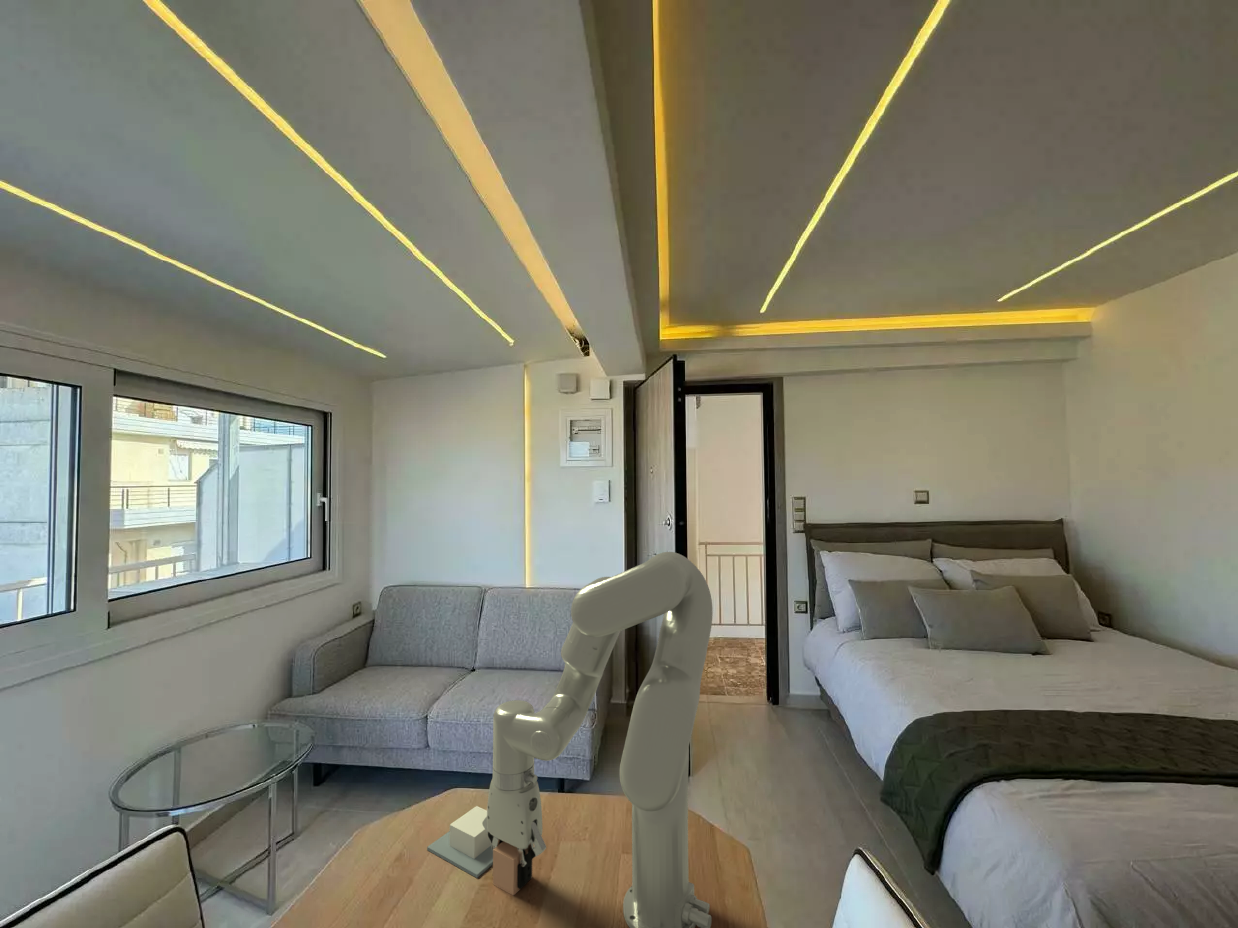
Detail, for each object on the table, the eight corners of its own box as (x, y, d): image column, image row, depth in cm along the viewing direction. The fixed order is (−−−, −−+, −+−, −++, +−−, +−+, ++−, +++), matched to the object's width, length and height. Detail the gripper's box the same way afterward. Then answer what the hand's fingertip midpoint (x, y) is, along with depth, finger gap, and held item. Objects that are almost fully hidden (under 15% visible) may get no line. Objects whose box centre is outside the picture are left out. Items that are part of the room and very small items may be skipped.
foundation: (521, 839, 102) (522, 815, 102) (477, 877, 91) (477, 851, 92) (473, 816, 109) (474, 794, 109) (427, 849, 99) (427, 825, 99)
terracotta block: (532, 876, 92) (532, 842, 92) (513, 895, 87) (513, 859, 88) (512, 866, 94) (512, 833, 95) (492, 884, 90) (493, 849, 90)
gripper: (562, 777, 91) (562, 881, 90) (495, 752, 100) (494, 847, 99) (535, 798, 84) (534, 911, 83) (465, 770, 93) (464, 872, 92)
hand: (512, 875), depth 91 cm, fingers closed on terracotta block, 5 cm apart
